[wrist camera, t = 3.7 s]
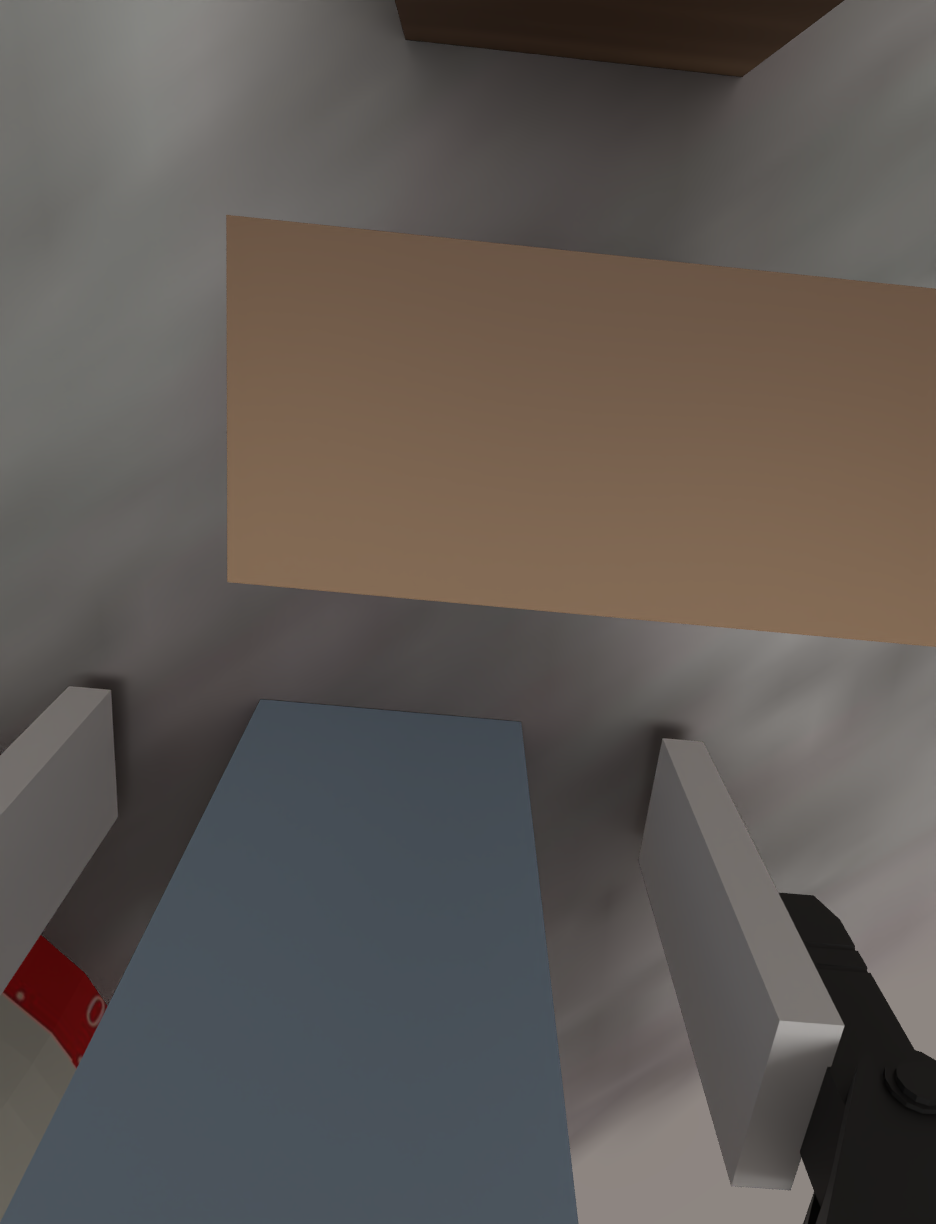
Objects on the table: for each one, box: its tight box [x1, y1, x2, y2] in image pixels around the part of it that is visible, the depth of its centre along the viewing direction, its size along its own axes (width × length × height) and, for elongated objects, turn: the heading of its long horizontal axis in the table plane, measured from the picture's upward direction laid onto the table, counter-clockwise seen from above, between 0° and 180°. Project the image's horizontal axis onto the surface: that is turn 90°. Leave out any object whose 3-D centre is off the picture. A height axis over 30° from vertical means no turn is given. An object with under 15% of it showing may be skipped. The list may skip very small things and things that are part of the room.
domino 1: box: [0, 699, 578, 1224], centre depth 12 cm, size 2×5×10 cm, turn 85°
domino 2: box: [226, 215, 936, 647], centre depth 10 cm, size 2×5×10 cm, turn 85°
